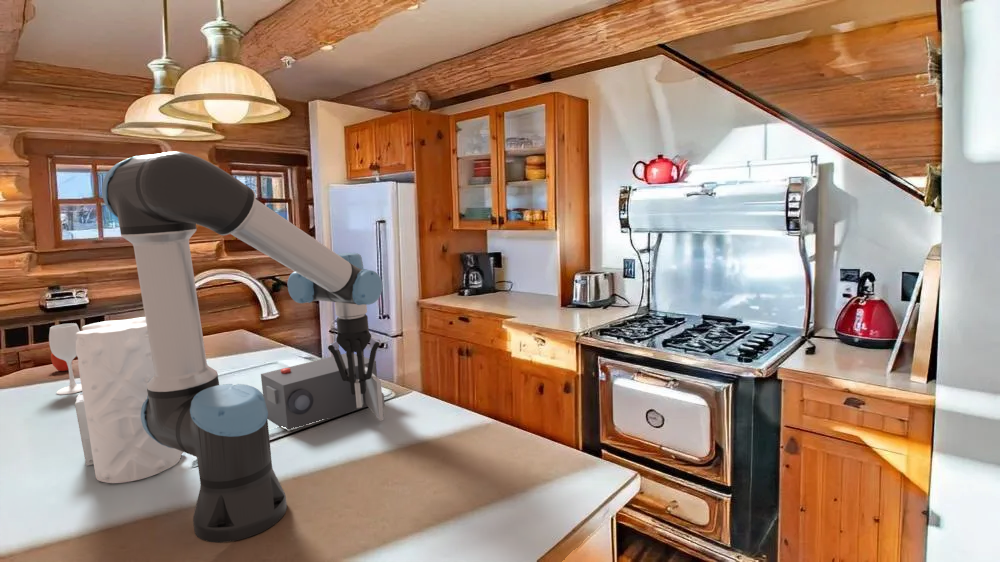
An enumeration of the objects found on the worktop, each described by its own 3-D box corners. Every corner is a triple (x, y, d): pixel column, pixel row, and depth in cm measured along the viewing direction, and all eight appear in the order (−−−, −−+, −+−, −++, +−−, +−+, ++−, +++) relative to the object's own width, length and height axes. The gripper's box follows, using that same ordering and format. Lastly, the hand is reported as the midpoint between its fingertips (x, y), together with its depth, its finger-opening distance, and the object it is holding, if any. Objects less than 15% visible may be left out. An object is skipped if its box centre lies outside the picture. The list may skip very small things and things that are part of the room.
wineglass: (76, 394, 172) (66, 328, 169) (49, 395, 172) (38, 329, 169) (97, 385, 180) (87, 322, 177) (70, 386, 181) (60, 322, 178)
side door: (370, 400, 152) (367, 365, 151) (386, 419, 139) (383, 381, 137) (364, 402, 152) (361, 366, 150) (379, 420, 138) (376, 382, 137)
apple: (48, 373, 196) (44, 352, 195) (64, 367, 203) (61, 347, 201) (63, 373, 195) (60, 352, 194) (79, 368, 201) (76, 348, 200)
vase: (83, 493, 111) (57, 337, 106) (102, 460, 125) (80, 321, 121) (181, 473, 117) (160, 325, 113) (188, 444, 132) (170, 312, 128)
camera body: (383, 404, 154) (379, 359, 152) (289, 435, 135) (284, 384, 133) (353, 391, 165) (349, 349, 163) (263, 418, 147) (258, 371, 145)
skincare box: (117, 459, 125) (107, 396, 123) (84, 467, 122) (74, 402, 120) (117, 446, 132) (108, 386, 130) (86, 453, 129) (76, 392, 127)
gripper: (379, 310, 142) (387, 398, 146) (328, 313, 141) (337, 402, 145) (375, 317, 135) (383, 409, 138) (322, 320, 134) (331, 413, 137)
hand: (360, 405), depth 142 cm, fingers closed
